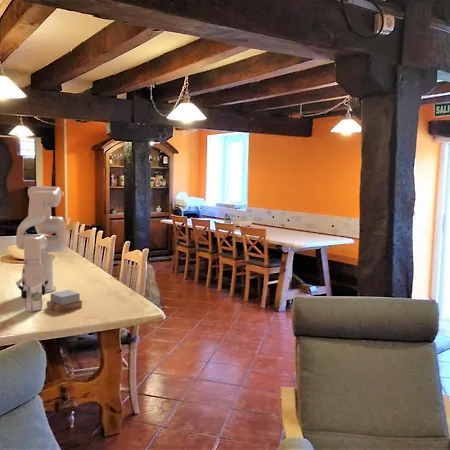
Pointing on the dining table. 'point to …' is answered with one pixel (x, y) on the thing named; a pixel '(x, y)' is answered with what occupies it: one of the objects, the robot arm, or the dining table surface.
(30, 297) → the syrup box
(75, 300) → the slate top block
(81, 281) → the dining table surface
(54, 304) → the walnut base block
